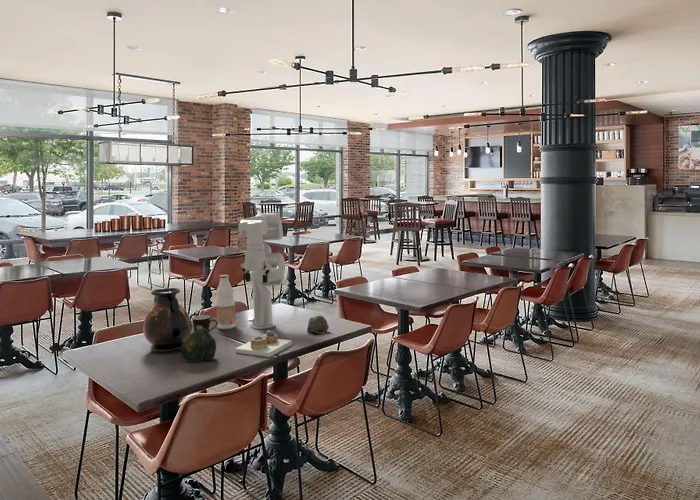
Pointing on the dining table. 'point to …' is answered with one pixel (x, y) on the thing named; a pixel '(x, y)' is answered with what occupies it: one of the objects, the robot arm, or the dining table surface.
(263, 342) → the maple gear
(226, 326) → the fruit juice
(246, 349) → the gear board
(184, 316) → the amphora vase
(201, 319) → the coffee mug
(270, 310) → the robot arm
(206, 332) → the squash
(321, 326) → the grey lumpy stone
